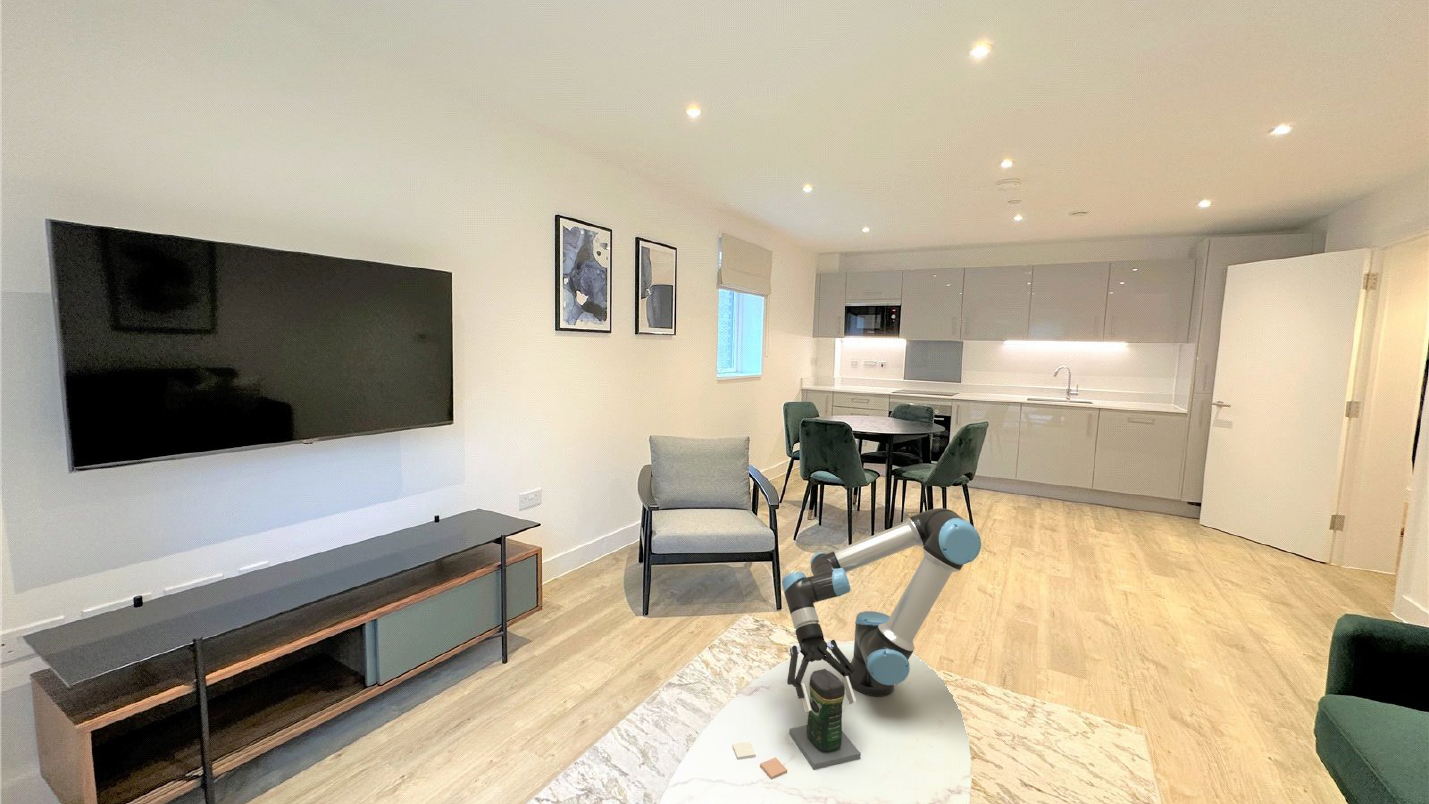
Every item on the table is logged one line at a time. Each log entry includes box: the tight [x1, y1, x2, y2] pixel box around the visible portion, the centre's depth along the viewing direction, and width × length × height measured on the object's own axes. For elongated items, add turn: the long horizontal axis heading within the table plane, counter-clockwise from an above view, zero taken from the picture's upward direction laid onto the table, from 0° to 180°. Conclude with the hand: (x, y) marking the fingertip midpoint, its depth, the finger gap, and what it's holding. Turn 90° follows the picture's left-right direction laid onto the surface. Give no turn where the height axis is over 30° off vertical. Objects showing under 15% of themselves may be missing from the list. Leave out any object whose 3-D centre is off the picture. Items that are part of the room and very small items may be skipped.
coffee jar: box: [806, 668, 846, 751], centre depth 150 cm, size 10×8×19 cm
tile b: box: [732, 741, 757, 761], centre depth 148 cm, size 5×5×1 cm
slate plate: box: [788, 724, 862, 770], centre depth 151 cm, size 14×14×2 cm
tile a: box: [759, 757, 788, 780], centre depth 142 cm, size 5×5×1 cm
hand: (831, 707), depth 148 cm, fingers open, 13 cm apart
